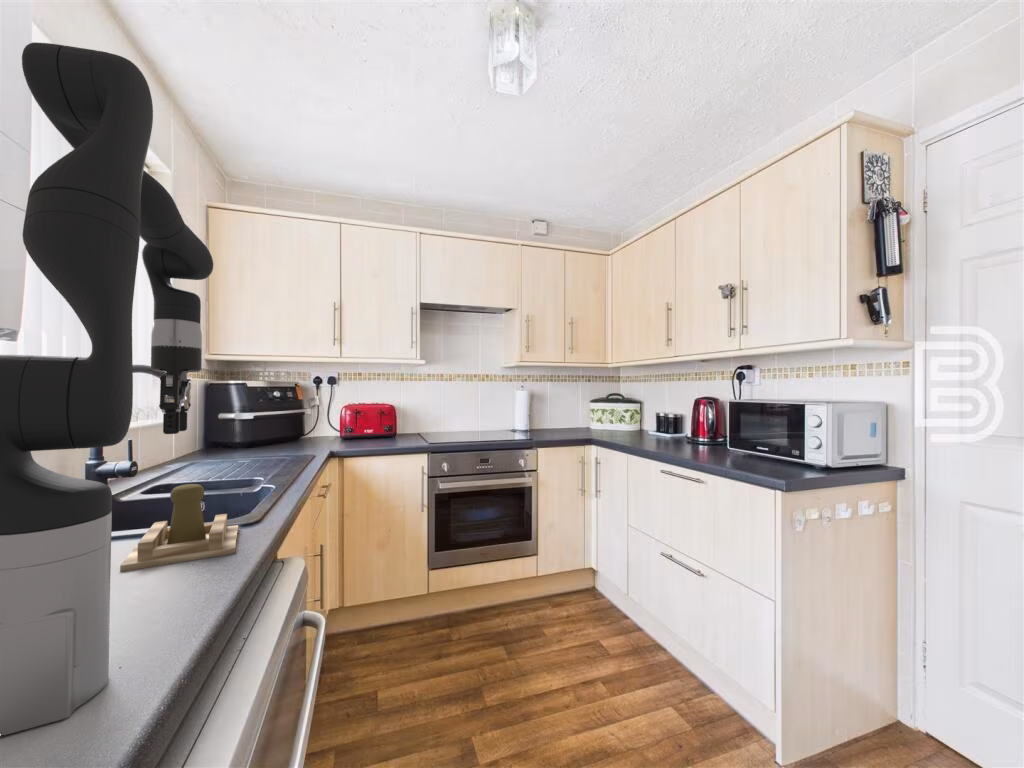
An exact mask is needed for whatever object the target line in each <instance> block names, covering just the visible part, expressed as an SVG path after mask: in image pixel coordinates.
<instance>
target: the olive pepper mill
mask: <svg viewBox="0 0 1024 768" xmlns="http://www.w3.org/2000/svg"><path fill="white" fill-rule="evenodd" d="M204 495H205V489H204V487H203V486H202V485H201V484H197V483H188V484H181V485H178V486H176V487H174V488H172V490H171V491H170V501H171V502H172V504H173V508H172V514H171V519H170V520H171V521H170V525H169V526H170V527H169V528H170V530H169V536H168V542H167V545H170V544H177V543H184V542H191V541H198V540H205V539H206V534H205V528H204V524H205V521H204V515H203V510H202V502H201V500H203V498H204V497H205V496H204Z"/></svg>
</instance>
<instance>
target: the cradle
mask: <svg viewBox="0 0 1024 768" xmlns="http://www.w3.org/2000/svg"><path fill="white" fill-rule="evenodd" d="M168 524H169V522H168V520H162V521H156V522H155V521H154V523H153V524H152V525H151V526H150V528H149V529H148V530H147V531H146V532H145V534H144V535H143V536H142V537H141V539H140V540H139V541H138V542H137V544H136V545H135V547H134V548H133V549H132V551H130V552H129V554H128V555H127V557H125V559H124V560H123V561H122V563H121V564H120V567H119V572H121V573H122V572H127V571H133V570H138V569H143V568H144V569H145V568H151V567H157V566H156V565H158V566H163V565H162V564H165V565H168V564H167V563H171V564H175V563H174V562H177V563H182V561H183V562H188V561H194V560H195V559H196V560H202V559H207V557H209V558H214V557H213V556H215V557H220V556H227V555H232V554H233V553H234V554H235V552H236V547H237V541H236V540H238V534H239V525H238V524H236V525H229V526H228V513H221V514H215V515H214V520H213V522H207V523H205V522H204V528H205V534H206V539H205V540H198V541H191V542H184V543H177V544H170V545H167V542H168V536H169V530H170V527H168ZM237 533H238V534H237ZM201 558H202V559H201ZM196 560H195V561H196Z"/></svg>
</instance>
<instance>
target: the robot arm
mask: <svg viewBox="0 0 1024 768" xmlns="http://www.w3.org/2000/svg"><path fill="white" fill-rule="evenodd" d="M21 66H22V67H21V68H22V71H23V76H24V79H25V81H26V84H27V86H28V89H29V91H30V92H31V94H32V96H33V98H34V100H35V102H36V103H37V105H38V106H39V108H40V109H41V111H42V112H43V113H44V115H45V116H46V117H47V119H48V120H49V122H50V123H51V124H52V125H53V126H54V128H55V129H56V130H57V132H59V134H60V135H61V136H62V137H63V138H64V139H65V141H66V142H67V143H68V144H69V145H70V147H71V148H73V149H72V150H71V151H70V152H68V153H67V154H65V155H63V156H62V157H61V158H59V159H57V160H56V161H55V162H54V163H52V164H51V165H50V166H48V167H47V168H46V169H45V170H44V171H43V172H42V173H41V174H40V175H39V176H37V178H36V179H35V180H34V182H33V184H32V185H31V187H30V189H29V192H28V198H27V203H26V208H25V215H24V220H23V227H22V241H23V245H24V246H25V247H24V248H25V250H26V252H27V254H28V255H29V256H30V257H29V258H31V260H32V262H33V263H34V264H35V266H36V267H37V268H38V269H39V271H40V272H41V273H42V275H43V276H44V277H45V278H46V279H47V280H48V281H49V282H50V285H52V286H53V287H54V288H55V290H56V291H58V293H59V294H60V295H61V296H62V298H63V299H64V300H65V301H66V303H67V304H68V305H69V306H70V307H71V309H72V310H73V312H74V313H75V314H76V316H77V318H78V319H79V320H80V322H81V324H82V326H83V327H84V329H85V331H86V333H87V335H88V337H89V339H90V340H89V341H90V342H91V353H90V355H88V356H83V357H82V356H66V355H65V356H60V355H32V354H31V355H29V354H0V734H1V735H4V736H6V735H5V734H7V735H10V734H9V733H11V734H15V733H18V732H21V731H25V730H29V729H32V728H36V727H39V726H43V725H46V724H50V723H53V722H57V721H61V720H64V719H67V718H69V717H71V715H72V714H73V712H74V711H75V710H76V709H78V708H79V707H81V705H83V704H85V703H87V702H88V701H89V700H91V699H92V698H93V697H95V696H96V695H97V694H99V693H100V692H101V691H102V689H103V688H104V687H105V686H106V684H107V683H108V681H109V665H110V620H111V619H110V617H111V616H110V611H111V571H112V569H111V567H112V566H111V565H112V563H111V562H112V558H111V557H112V554H111V553H112V525H113V524H112V523H113V521H112V520H113V519H112V516H113V512H112V510H113V492H112V490H111V487H110V486H109V485H107V484H106V483H104V482H100V481H97V480H89V479H83V478H79V477H74V476H73V477H72V476H69V475H64V474H61V473H58V472H55V471H53V470H50V469H47V468H46V467H43V466H42V465H40V464H39V463H38V462H36V461H35V460H34V458H33V455H32V452H40V451H57V450H75V449H78V450H79V449H92V448H94V449H95V448H104V447H112V446H116V445H118V444H120V443H121V442H122V441H123V440H124V439H125V437H126V436H127V434H128V432H129V429H130V425H131V422H132V415H133V404H134V402H133V398H134V397H133V395H134V380H133V379H134V375H133V374H134V373H133V372H134V371H133V367H134V366H133V363H134V362H133V310H134V309H133V307H134V296H135V287H136V286H135V285H136V277H137V276H136V275H137V268H138V260H139V251H140V239H141V240H143V241H144V242H145V243H144V245H143V247H142V250H141V259H142V263H143V265H144V269H145V271H146V273H147V277H148V280H149V284H150V289H151V292H152V296H153V324H152V328H151V335H150V336H151V337H150V338H151V339H150V341H151V342H150V343H151V345H150V368H151V370H152V371H154V372H162V373H163V372H164V373H165V374H161V375H160V377H159V380H160V387H159V390H160V391H159V406H158V408H159V409H160V410H161V412H162V414H163V418H162V419H163V420H162V426H163V427H162V432H163V434H164V435H176V434H179V433H180V432H186V431H187V430H188V412H189V410H190V409H191V406H192V405H191V404H192V403H191V399H192V396H191V389H192V380H191V378H188V375H187V374H188V373H198V372H201V371H202V360H203V359H202V356H203V355H202V353H203V351H202V349H203V346H202V345H203V344H202V343H203V333H202V329H201V328H202V327H201V326H202V325H201V320H202V319H201V315H202V314H201V307H202V304H201V298H200V296H199V295H198V294H196V293H194V292H192V291H189V290H185V289H180V288H176V287H174V286H173V284H172V283H171V279H177V280H178V279H179V280H189V281H190V280H192V281H200V280H205V279H207V278H209V276H211V274H212V273H213V270H214V259H213V257H212V254H211V252H210V250H209V249H208V247H207V246H206V245H205V243H204V242H203V241H202V240H201V239H200V238H199V237H198V236H197V235H196V233H194V232H193V230H192V229H191V228H190V227H189V226H188V225H187V224H186V223H185V221H184V219H183V217H182V215H181V213H180V210H179V209H178V206H177V203H176V202H175V199H174V198H173V197H172V196H171V194H170V193H169V191H168V190H167V189H166V188H165V187H164V186H163V184H162V183H160V182H159V181H158V180H157V179H156V178H155V177H153V176H152V175H150V174H149V173H148V172H147V171H146V170H144V168H145V164H146V159H147V155H148V150H149V146H150V141H151V137H152V131H153V122H154V121H153V120H154V108H153V107H154V106H153V97H152V94H151V90H150V87H149V83H148V81H147V78H146V77H145V75H144V74H143V72H142V71H141V70H140V68H139V67H138V66H137V65H136V64H135V63H134V62H132V61H131V60H129V59H127V58H126V57H124V56H121V55H118V54H115V53H110V52H107V51H103V50H96V49H90V48H84V47H77V46H71V45H64V44H59V43H57V44H56V43H50V42H31V43H30V42H29V43H28V44H27V45H25V46H24V48H23V50H22V55H21Z"/></svg>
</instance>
